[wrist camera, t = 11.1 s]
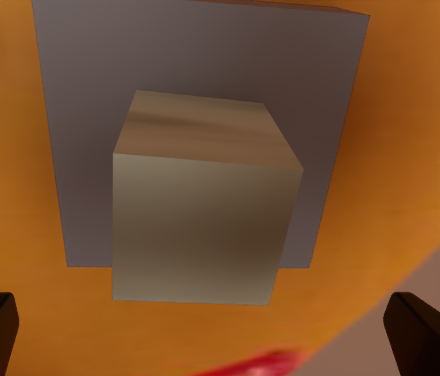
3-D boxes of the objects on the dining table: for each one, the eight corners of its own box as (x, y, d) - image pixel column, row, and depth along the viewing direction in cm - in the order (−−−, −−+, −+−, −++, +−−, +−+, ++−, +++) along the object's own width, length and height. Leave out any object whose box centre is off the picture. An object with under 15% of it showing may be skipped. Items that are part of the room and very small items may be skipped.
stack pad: (290, 224, 24) (309, 268, 20) (85, 220, 22) (67, 266, 19) (333, 6, 18) (370, 15, 15) (61, -17, 17) (30, -13, 13)
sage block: (243, 208, 18) (268, 305, 13) (132, 201, 17) (112, 300, 12) (263, 103, 16) (303, 169, 11) (136, 89, 15) (112, 153, 10)
